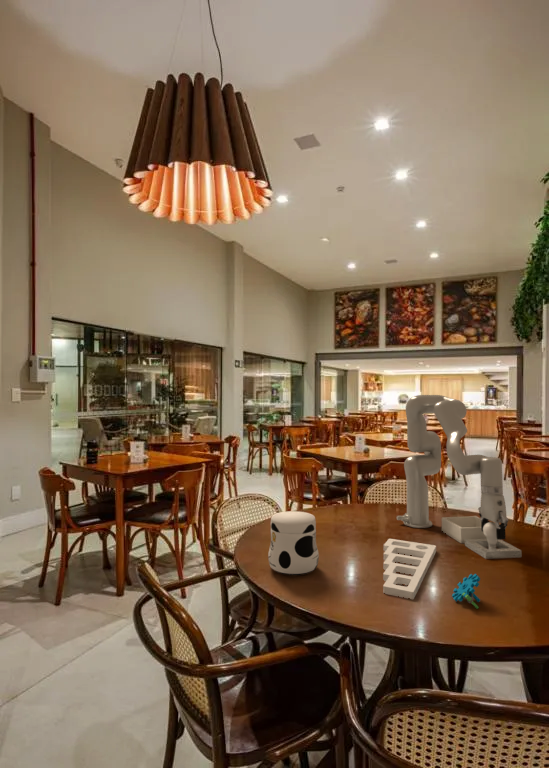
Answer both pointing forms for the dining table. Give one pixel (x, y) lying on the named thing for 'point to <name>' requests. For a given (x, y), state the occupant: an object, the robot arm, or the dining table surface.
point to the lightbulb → (490, 534)
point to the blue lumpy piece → (467, 590)
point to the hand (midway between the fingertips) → (493, 535)
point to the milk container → (293, 543)
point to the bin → (463, 528)
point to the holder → (405, 566)
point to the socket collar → (502, 552)
